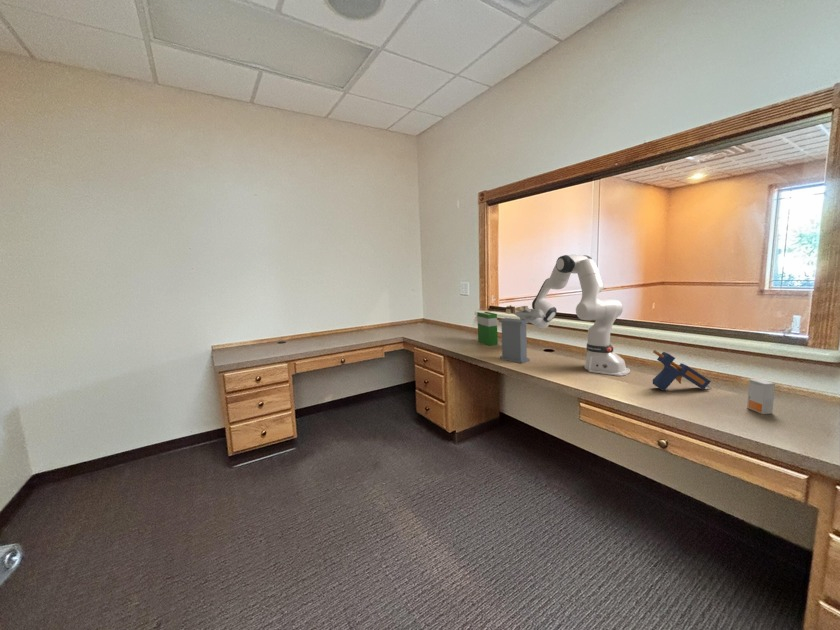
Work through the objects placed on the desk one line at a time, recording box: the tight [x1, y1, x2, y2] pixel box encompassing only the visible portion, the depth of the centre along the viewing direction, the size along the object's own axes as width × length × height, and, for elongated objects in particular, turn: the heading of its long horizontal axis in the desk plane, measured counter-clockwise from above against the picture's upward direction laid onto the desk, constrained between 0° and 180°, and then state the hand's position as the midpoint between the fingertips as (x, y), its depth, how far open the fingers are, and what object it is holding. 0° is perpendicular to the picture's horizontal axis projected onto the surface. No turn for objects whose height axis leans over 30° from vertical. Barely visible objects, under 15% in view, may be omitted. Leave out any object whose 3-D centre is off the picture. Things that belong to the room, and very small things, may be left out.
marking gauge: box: [505, 304, 529, 314], centre depth 218 cm, size 20×5×5 cm, turn 129°
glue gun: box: [652, 349, 712, 392], centre depth 157 cm, size 6×31×15 cm
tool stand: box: [498, 317, 531, 364], centre depth 219 cm, size 17×8×26 cm, turn 39°
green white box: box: [476, 311, 499, 347], centre depth 269 cm, size 18×7×24 cm, turn 18°
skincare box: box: [746, 377, 776, 415], centre depth 131 cm, size 6×4×12 cm
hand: (522, 307), depth 222 cm, fingers closed on marking gauge, 2 cm apart
